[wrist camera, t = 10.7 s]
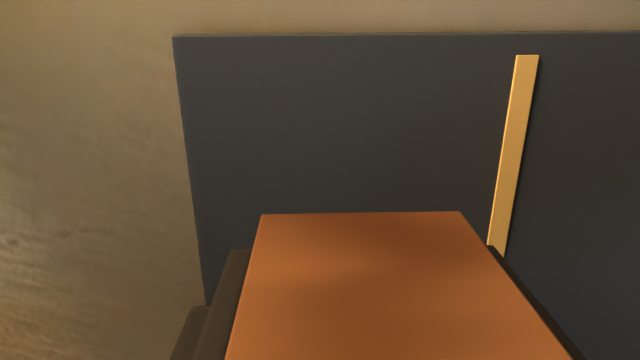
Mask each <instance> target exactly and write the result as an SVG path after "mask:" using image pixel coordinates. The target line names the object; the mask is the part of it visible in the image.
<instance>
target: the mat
mask: <svg viewBox="0 0 640 360" xmlns="http://www.w3.org/2000/svg"><path fill="white" fill-rule="evenodd" d="M171 40H172V48H173V55H174V63H175V71H176V78H177V86H178V94H179V101H180V109H181V117H182V124H183V132H184V140H185V147H186V155H187V163H188V170H189V178H190V186H191V193H192V201H193V209H194V216H195V224H196V232H197V239H198V247H199V255H200V262H201V270H202V278H203V285H204V293H205V301H206V306H211V303H212V300H213V297H214V295H215V292H216V289H217V286H218V283H219V280H220V277H221V275H222V272H223V269H224V266H225V263H226V260H227V257H228V255H229V252H230V250H231V249H253V245H254V241H255V237H256V233H257V229H258V226H259V222H260V218H261V215H263V214H306V213H370V212H434V211H459V212H461V214H462V215H463V216H464V218H465V219H466V220H467V221H468V223H469V224H470V225H471V227H472V228H473V229H474V231H475V232H476V233H477V234H478V236H479V237H480V238H481V240H482V241H483V242H484V244H485V245H493V246H494V247H495V248H496V249H497V250H498V251H499V253H500V254H501V255H502V256H503V258H504V259H505V260H506V261H507V263H508V264H509V265H510V266H511V268H512V269H513V270H514V271H515V273H516V274H517V275H518V276H519V278H520V279H521V280H522V281H523V283H524V284H525V285H526V286H527V288H528V289H529V290H530V291H531V293H532V294H533V295H534V296H535V298H536V299H537V300H538V301H539V302H540V303H541V304H542V305H543V306H544V307H545V308H546V310H547V311H548V312H549V313H550V315H551V316H552V317H553V318H554V320H555V321H556V322H557V323H558V325H559V326H560V327H561V328H562V330H563V331H564V332H565V333H566V335H567V336H568V337H569V338H570V339H571V341H572V342H573V343H574V344H575V346H576V347H577V348H578V349H579V351H580V352H581V353H582V354H583V356H584V357H585V358H586V359H587V360H640V30H639V31H526V32H412V33H298V34H184V35H173V36H172V37H171Z"/></svg>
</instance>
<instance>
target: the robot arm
mask: <svg viewBox="0 0 640 360" xmlns="http://www.w3.org/2000/svg"><path fill="white" fill-rule="evenodd" d="M486 246H487V247H488V249H489V250H490V251H491V253H492V254H493V255H494V257H495V258H496V259H497V261H498V262H499V263H500V264H501V266H502V267H503V268H504V270H505V271H506V272H507V274H508V275H509V276H510V277H511V279H512V280H513V281H514V283H515V284H516V285H517V287H518V288H519V289H520V290H521V292H522V293H523V294H524V296H525V297H526V298H527V300H528V301H529V302H530V304H531V305H532V306H533V307H534V309H535V310H536V311H537V313H538V314H539V315H540V317H541V318H542V319H543V320H544V322H545V323H546V324H547V326H548V327H549V328H550V330H551V331H552V332H553V333H554V335H555V336H556V337H557V339H558V340H559V341H560V343H561V344H562V345H563V346H564V348H565V349H566V350H567V352H568V353H569V354H570V356H571V357H572V358H573V360H587V359H586V358H585V357H584V356H583V354H582V353H581V352H580V351H579V349H578V348H577V347H576V346H575V344H574V343H573V342H572V341H571V339H570V338H569V337H568V336H567V335H566V333H565V332H564V331H563V330H562V328H561V327H560V326H559V325H558V323H557V322H556V321H555V320H554V318H553V317H552V316H551V315H550V313H549V312H548V311H547V310H546V308H545V307H544V306H543V305H542V304H541V303H540V302H539V301H538V300H537V299H536V298H535V296H534V295H533V294H532V293H531V291H530V290H529V289H528V288H527V286H526V285H525V284H524V283H523V281H522V280H521V279H520V278H519V276H518V275H517V274H516V273H515V271H514V270H513V269H512V268H511V266H510V265H509V264H508V263H507V261H506V260H505V259H504V258H503V256H502V255H501V254H500V253H499V251H498V250H497V249H496V248H495V247H494V246H493V245H486ZM251 253H252V249H231V250H230V252H229V255H228V257H227V260H226V263H225V266H224V269H223V272H222V275H221V277H220V280H219V283H218V286H217V289H216V292H215V295H214V297H213V300H212V303H211V306H194V307H193V308H191V310H190V312H189V314H188V317H187V319H186V321H185V324H184V326H183V329H182V331H181V333H180V336H179V338H178V341H177V343H176V345H175V348H174V350H173V353H172V355H171V358H170V360H224V359H225V355H226V351H227V347H228V343H229V339H230V335H231V332H232V328H233V324H234V320H235V316H236V312H237V308H238V304H239V300H240V296H241V292H242V288H243V284H244V280H245V277H246V273H247V269H248V265H249V261H250V257H251Z"/></svg>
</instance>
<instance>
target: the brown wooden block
mask: <svg viewBox="0 0 640 360" xmlns="http://www.w3.org/2000/svg"><path fill="white" fill-rule="evenodd" d="M224 360H573V358H572V357H571V356H570V354H569V353H568V352H567V350H566V349H565V348H564V346H563V345H562V344H561V343H560V341H559V340H558V339H557V337H556V336H555V335H554V333H553V332H552V331H551V330H550V328H549V327H548V326H547V324H546V323H545V322H544V320H543V319H542V318H541V317H540V315H539V314H538V313H537V311H536V310H535V309H534V307H533V306H532V305H531V304H530V302H529V301H528V300H527V298H526V297H525V296H524V294H523V293H522V292H521V290H520V289H519V288H518V287H517V285H516V284H515V283H514V281H513V280H512V279H511V277H510V276H509V275H508V274H507V272H506V271H505V270H504V268H503V267H502V266H501V264H500V263H499V262H498V261H497V259H496V258H495V257H494V255H493V254H492V253H491V251H490V250H489V249H488V247H487V246H486V245H485V244H484V242H483V241H482V240H481V238H480V237H479V236H478V234H477V233H476V232H475V231H474V229H473V228H472V227H471V225H470V224H469V223H468V221H467V220H466V219H465V218H464V216H463V215H462V214H461V212H459V211H434V212H370V213H306V214H263V215H261V218H260V222H259V226H258V229H257V233H256V237H255V241H254V245H253V249H252V253H251V257H250V261H249V265H248V269H247V273H246V277H245V280H244V284H243V288H242V292H241V296H240V300H239V304H238V308H237V312H236V316H235V320H234V324H233V328H232V332H231V335H230V339H229V343H228V347H227V351H226V355H225V359H224Z"/></svg>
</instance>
